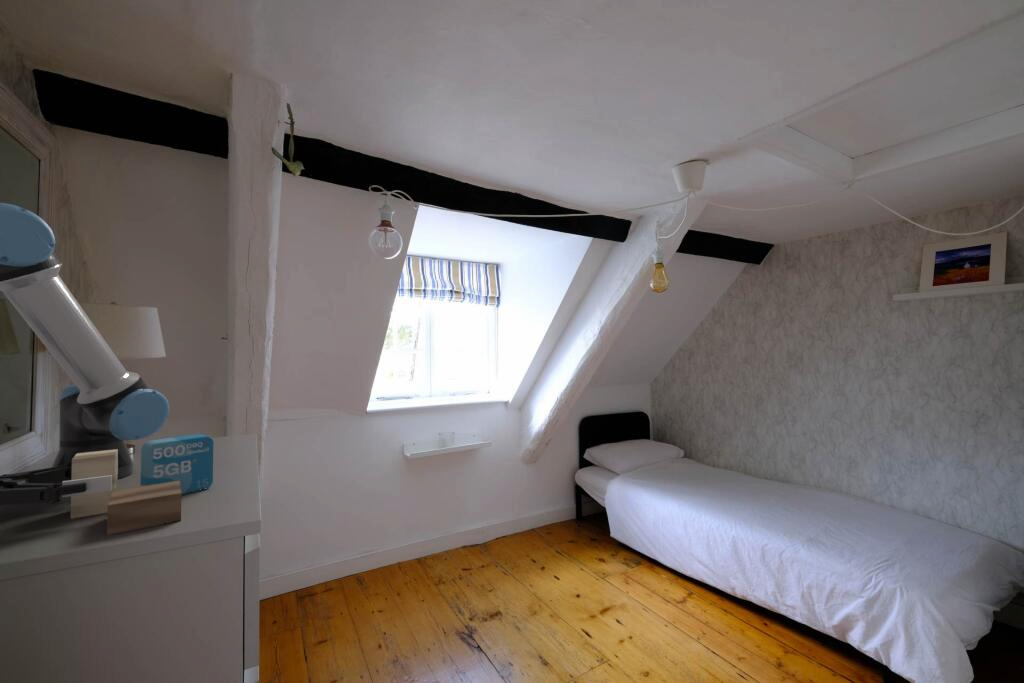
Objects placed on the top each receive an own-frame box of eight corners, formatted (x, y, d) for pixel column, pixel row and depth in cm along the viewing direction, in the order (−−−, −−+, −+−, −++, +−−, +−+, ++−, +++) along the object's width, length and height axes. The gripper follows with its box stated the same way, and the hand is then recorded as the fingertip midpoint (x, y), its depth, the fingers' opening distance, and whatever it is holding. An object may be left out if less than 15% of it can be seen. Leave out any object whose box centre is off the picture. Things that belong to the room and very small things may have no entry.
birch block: (75, 509, 86) (76, 453, 86) (116, 502, 89) (117, 449, 90) (70, 518, 81) (71, 459, 81) (114, 511, 85) (115, 454, 85)
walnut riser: (112, 517, 82) (112, 490, 82) (179, 505, 88) (179, 480, 88) (107, 534, 74) (107, 505, 74) (181, 520, 80) (181, 493, 80)
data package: (146, 502, 90) (147, 444, 90) (139, 498, 92) (141, 441, 92) (213, 487, 99) (214, 435, 100) (205, 484, 102) (206, 432, 102)
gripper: (-30, 498, 83) (119, 479, 97) (-89, 543, 64) (107, 511, 77) (-28, 459, 84) (120, 445, 97) (-87, 492, 64) (109, 468, 77)
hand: (115, 474), depth 87 cm, fingers open, 13 cm apart
